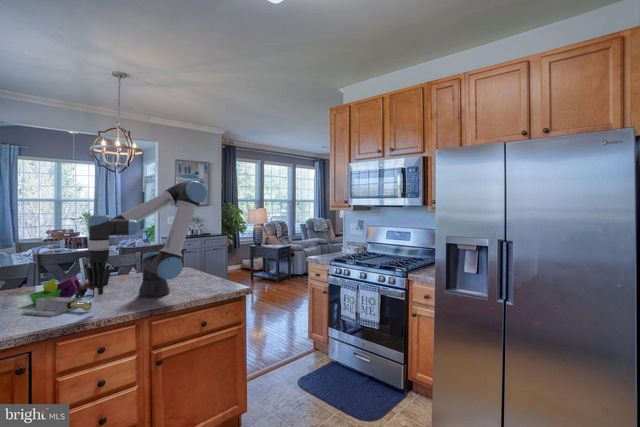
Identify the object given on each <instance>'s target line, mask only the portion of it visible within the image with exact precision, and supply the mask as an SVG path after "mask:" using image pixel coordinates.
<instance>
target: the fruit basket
mask: <svg viewBox="0 0 640 427" xmlns="http://www.w3.org/2000/svg"><path fill="white" fill-rule="evenodd" d="M57 284H58V283H57V280H56V279H55V278H54V279H50V280H49V281H47V282H46V283H45V284H43V287H42V288H43V290H40V291H37V292H34V293H33V292H32V293H29V297H30V300H31V303H32V304H33V305H36V300H37V299H40V298H44V297H60V292H61V289H57Z"/></svg>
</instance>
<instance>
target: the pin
mask: <svg viewBox="0 0 640 427" xmlns="http://www.w3.org/2000/svg"><path fill="white" fill-rule="evenodd" d="M84 302H85V303H72V302H69V303H68V307H71V308H77V309H82V310H83V311H90V310H91V308H92V306H93V303H92V302H91V301H84Z"/></svg>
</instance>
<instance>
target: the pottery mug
mask: <svg viewBox="0 0 640 427" xmlns="http://www.w3.org/2000/svg"><path fill="white" fill-rule="evenodd" d="M88 290H91V291H93V287H92V286H89V282H85V283H84V284H81V286H80V287H79V288H78V290H77V292H76V293H75V298H76V299H79V298H83V297H85V295H86V293H87V292H88Z"/></svg>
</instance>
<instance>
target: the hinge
mask: <svg viewBox="0 0 640 427" xmlns="http://www.w3.org/2000/svg"><path fill="white" fill-rule="evenodd" d="M69 302H72V303H85V302H86V301H77V298H76V297H75V298H74V297H62V296H59V297H44V298H40V299H37V300H36V304H35V305H36V307H33V308H29V309H26V310H24V311H23V310H22V312H21V314H22V315H29V316H39V317H40V316H41V317H51V318H52V317H55V316H58V315H61V314H65V313H67V312H71V311H73V310H76V309H78V308H71V307H68V303H69Z"/></svg>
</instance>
